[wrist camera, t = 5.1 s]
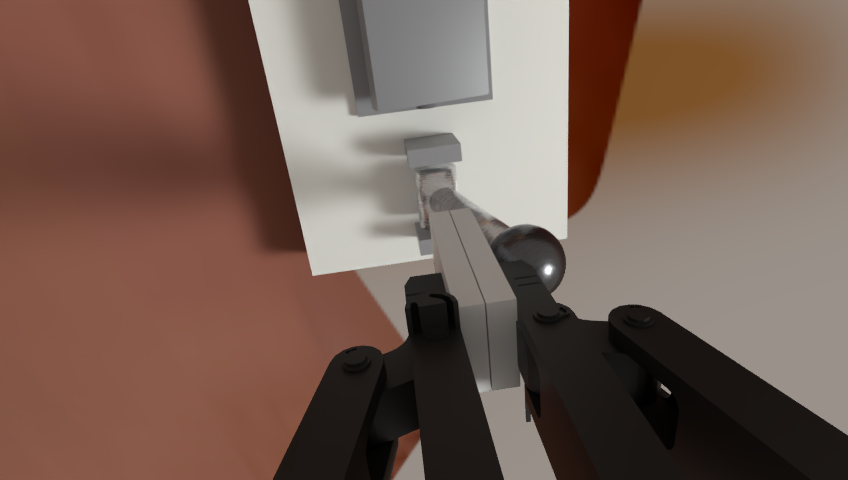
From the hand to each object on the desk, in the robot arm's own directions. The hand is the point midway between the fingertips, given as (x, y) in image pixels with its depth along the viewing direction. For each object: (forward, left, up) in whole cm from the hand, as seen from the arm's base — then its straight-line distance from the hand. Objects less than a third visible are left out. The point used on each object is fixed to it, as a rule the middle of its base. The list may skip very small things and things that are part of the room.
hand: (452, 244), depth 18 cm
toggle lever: (0, 0, -6) cm, 6 cm away
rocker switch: (0, +7, -6) cm, 9 cm away
